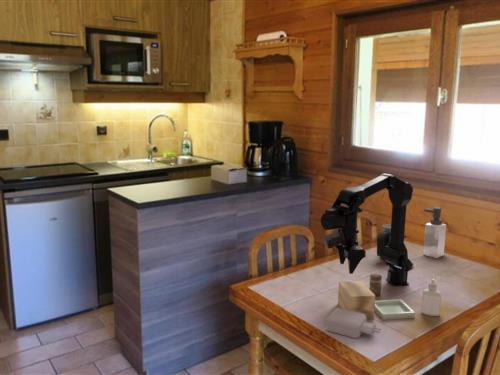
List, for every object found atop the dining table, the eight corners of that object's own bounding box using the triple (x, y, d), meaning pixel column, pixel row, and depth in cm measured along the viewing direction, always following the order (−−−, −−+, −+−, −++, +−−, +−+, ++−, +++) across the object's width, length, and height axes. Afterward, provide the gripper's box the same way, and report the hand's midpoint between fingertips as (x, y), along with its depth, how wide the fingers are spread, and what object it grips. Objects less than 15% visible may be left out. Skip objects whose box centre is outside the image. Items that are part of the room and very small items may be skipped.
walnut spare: (377, 291, 169) (379, 273, 168) (382, 296, 165) (383, 277, 164) (367, 292, 169) (368, 274, 167) (371, 296, 165) (372, 278, 163)
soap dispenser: (425, 250, 215) (428, 204, 211) (443, 255, 209) (447, 208, 205) (418, 253, 211) (422, 206, 207) (436, 258, 205) (441, 210, 200)
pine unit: (359, 301, 161) (360, 280, 159) (373, 318, 148) (375, 295, 147) (337, 303, 159) (338, 281, 158) (350, 320, 147) (351, 296, 146)
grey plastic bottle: (375, 345, 133) (326, 332, 140) (383, 331, 141) (337, 319, 148) (376, 330, 132) (327, 317, 139) (384, 317, 140) (337, 306, 147)
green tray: (400, 304, 159) (400, 299, 159) (414, 317, 149) (415, 312, 149) (370, 305, 158) (370, 301, 157) (382, 319, 148) (382, 314, 148)
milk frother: (384, 253, 211) (386, 222, 208) (419, 260, 201) (422, 228, 199) (372, 262, 199) (374, 229, 196) (409, 270, 190) (412, 236, 187)
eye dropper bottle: (434, 318, 149) (437, 283, 146) (418, 312, 153) (421, 278, 151) (441, 314, 151) (444, 280, 149) (426, 308, 156) (428, 275, 153)
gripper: (318, 219, 166) (316, 260, 169) (334, 234, 148) (332, 280, 151) (347, 218, 168) (345, 259, 171) (367, 233, 150) (364, 278, 153)
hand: (346, 268), depth 161 cm, fingers open, 9 cm apart
